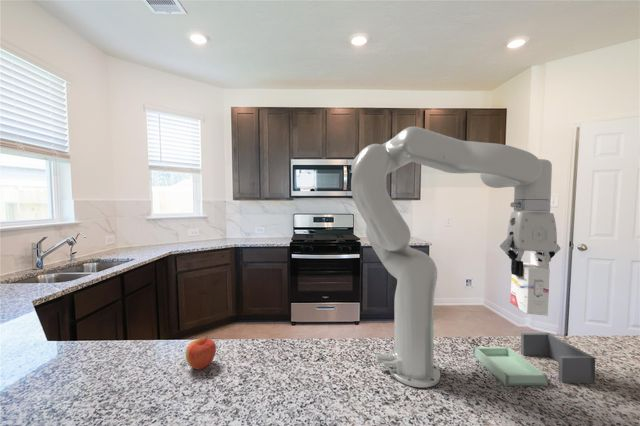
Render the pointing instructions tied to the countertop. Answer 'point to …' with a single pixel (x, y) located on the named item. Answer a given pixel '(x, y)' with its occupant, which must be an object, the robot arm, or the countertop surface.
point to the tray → (510, 366)
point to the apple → (200, 353)
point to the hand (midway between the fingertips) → (528, 275)
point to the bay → (561, 357)
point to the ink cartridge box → (532, 286)
